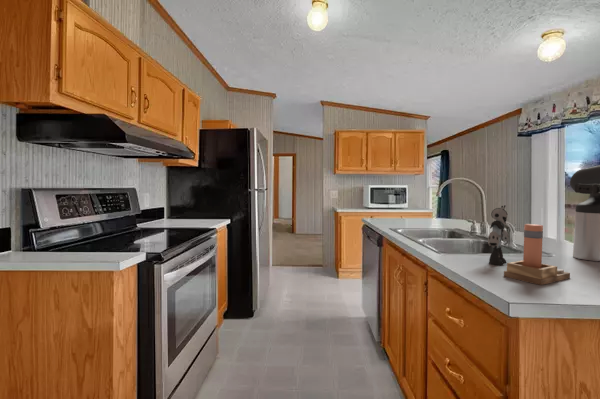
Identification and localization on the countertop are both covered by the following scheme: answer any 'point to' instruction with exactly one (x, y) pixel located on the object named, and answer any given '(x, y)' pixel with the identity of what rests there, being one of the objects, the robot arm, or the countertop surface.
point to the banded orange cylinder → (533, 245)
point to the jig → (535, 273)
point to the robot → (498, 236)
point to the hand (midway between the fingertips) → (583, 188)
